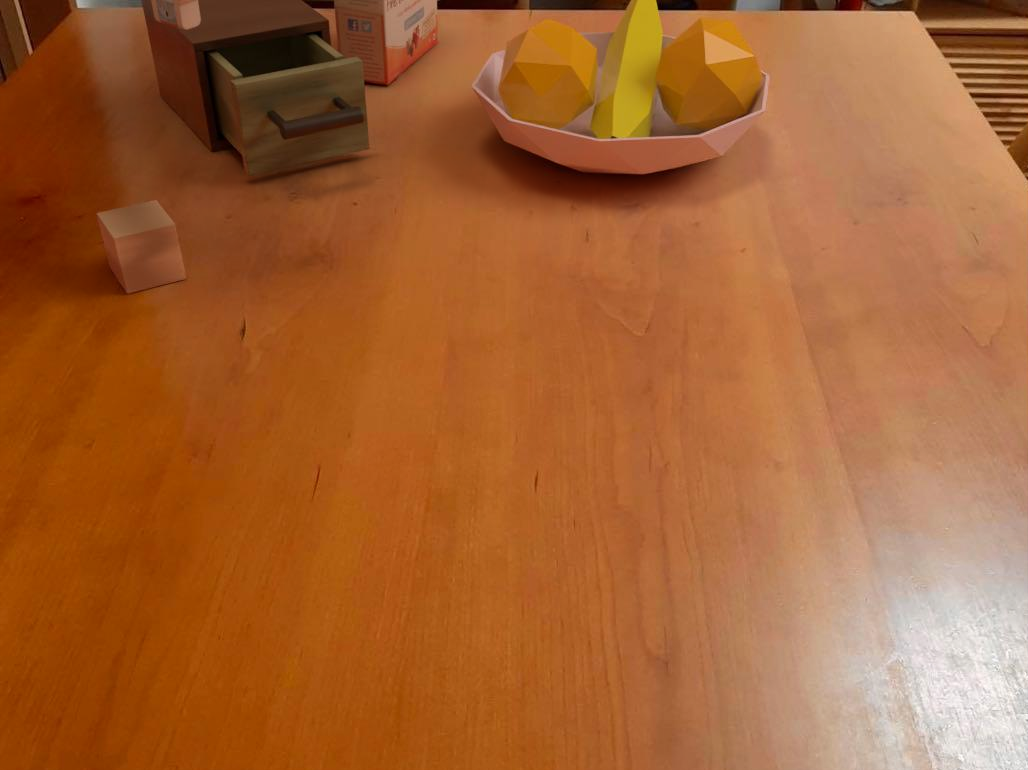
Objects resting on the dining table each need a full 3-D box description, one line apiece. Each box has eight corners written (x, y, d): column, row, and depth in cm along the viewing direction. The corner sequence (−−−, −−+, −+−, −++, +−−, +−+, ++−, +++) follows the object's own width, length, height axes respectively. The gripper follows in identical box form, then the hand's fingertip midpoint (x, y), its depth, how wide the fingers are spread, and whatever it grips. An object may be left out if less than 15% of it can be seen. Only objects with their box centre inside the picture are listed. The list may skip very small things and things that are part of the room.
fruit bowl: (697, 234, 95) (714, 95, 87) (419, 163, 105) (412, 32, 97) (812, 117, 113) (834, -6, 105) (565, 66, 123) (569, -50, 115)
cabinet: (339, 125, 111) (329, 19, 105) (211, 152, 106) (192, 43, 100) (279, 72, 121) (266, -26, 115) (160, 95, 116) (140, -7, 110)
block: (127, 294, 87) (113, 238, 84) (110, 268, 90) (96, 212, 87) (186, 279, 89) (175, 223, 86) (168, 254, 92) (156, 199, 89)
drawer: (391, 167, 102) (385, 77, 97) (268, 196, 98) (254, 103, 92) (307, 95, 114) (298, 12, 109) (195, 118, 110) (179, 32, 105)
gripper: (292, -190, 71) (316, 42, 81) (76, -227, 80) (120, -14, 90) (216, -174, 68) (250, 68, 77) (-2, -214, 76) (52, 7, 86)
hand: (178, 24), depth 83 cm, fingers closed
